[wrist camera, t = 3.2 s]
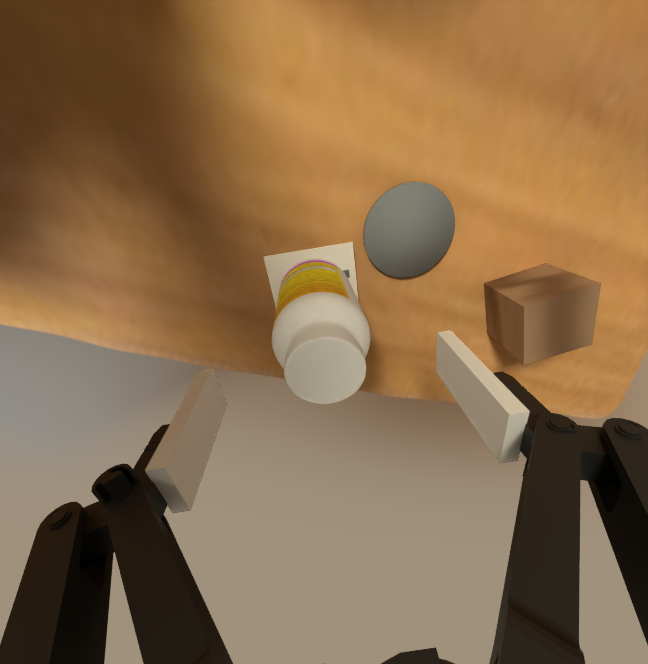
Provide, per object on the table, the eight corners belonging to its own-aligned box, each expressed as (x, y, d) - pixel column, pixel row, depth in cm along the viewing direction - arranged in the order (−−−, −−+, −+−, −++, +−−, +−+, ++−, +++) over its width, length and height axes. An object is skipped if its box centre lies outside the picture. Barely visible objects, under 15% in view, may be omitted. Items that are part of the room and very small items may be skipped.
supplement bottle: (264, 286, 27) (238, 365, 16) (321, 241, 26) (338, 293, 14) (309, 335, 30) (314, 433, 19) (363, 297, 28) (405, 379, 17)
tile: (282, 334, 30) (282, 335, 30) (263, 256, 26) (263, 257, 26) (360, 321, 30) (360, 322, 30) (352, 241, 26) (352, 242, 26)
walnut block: (486, 333, 32) (523, 364, 26) (483, 283, 29) (524, 307, 24) (542, 315, 31) (592, 344, 26) (545, 263, 28) (600, 283, 23)
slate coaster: (366, 282, 28) (367, 283, 28) (359, 190, 24) (360, 190, 24) (449, 268, 28) (451, 270, 28) (455, 174, 24) (458, 174, 24)
